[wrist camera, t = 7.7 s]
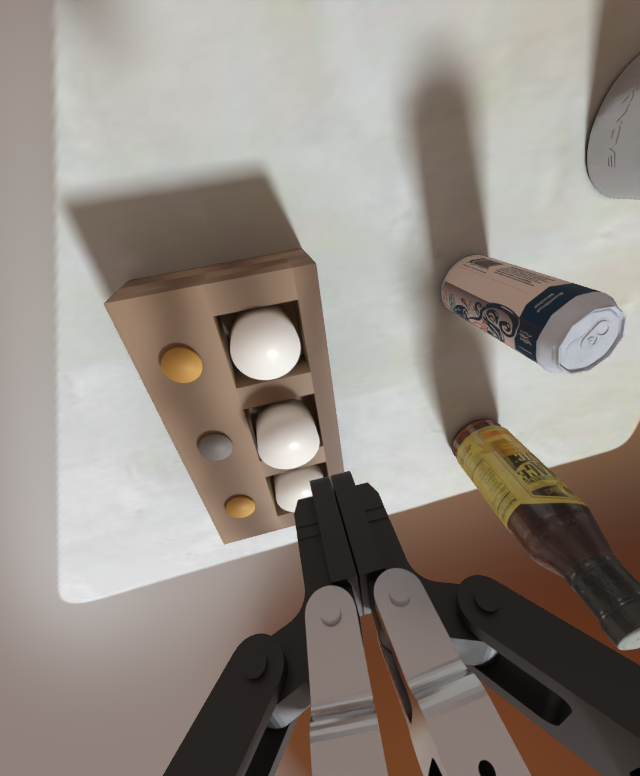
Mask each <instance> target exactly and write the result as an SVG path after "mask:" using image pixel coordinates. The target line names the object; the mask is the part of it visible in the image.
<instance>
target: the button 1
mask: <svg viewBox="0 0 640 776" xmlns="http://www.w3.org/2000/svg"><path fill="white" fill-rule="evenodd" d="M300 348H301V347H300V340H299V337H298V335H297V332H296V330H295V327H294V324H293V322H292V319H291V318H290V316H289V314H288V313H287V312H286V311H285V310H284V309H283V308H282V307H280V306H278V305H276V304H273V305H268V306H263V307H258V308H253V309H248V310H243V311H239V312H238V313H237V314H236V315H235V317H234V319H233V322H232V325H231V341H230V353H231V357H232V360H233V362H234V364H235V365H236V367H237V368H238V369H239V370H240V371H241V372H242V373H243V374H245V375H247V376H249V377H251V378H254V379H258V380H272V379H276V378H279V377H281V376H283V375H285V374H287V373H288V372H289V371H290V370H291V369H292V368H293V367H294V366H295V364H296V363H297V361H298V359H299V356H300Z"/></svg>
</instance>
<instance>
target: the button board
mask: <svg viewBox="0 0 640 776" xmlns="http://www.w3.org/2000/svg"><path fill="white" fill-rule="evenodd" d="M273 304H276V305H278V306H280V307H282V308H283V309H284V310H285V311H286V312H287V313H288V314H289V316H290V318H291V319H292V322H293V324H294V327H295V330H296V332H297V335H298V337H299V340H300V347H301V348H300V356H299V359H298V361H297V363H296V364H295V366H294V367H293V368H292V369H291V370H290V371H289V372H288V373H287V374H285V375H283V376H281V377H279V378H276V379H272V380H258V379H254V378H251V377H249V376H247V375H245V374H243V373H242V372H241V371H240V370H239V369H238V368H237V367H236V365H235V364H234V362H233V360H232V357H231V353H230V341H231V325H232V322H233V319H234V317H235V315H236V314H237V313H238V312H239V311H243V310H248V309H253V308H258V307H263V306H268V305H273ZM104 305H105V307H106V309H107V311H108V313H109V315H110V317H111V319H112V321H113V323H114V325H115V327H116V329H117V331H118V333H119V335H120V337H121V339H122V341H123V343H124V345H125V347H126V349H127V351H128V353H129V355H130V357H131V359H132V361H133V363H134V365H135V367H136V369H137V371H138V373H139V375H140V377H141V379H142V381H143V383H144V385H145V387H146V389H147V391H148V393H149V395H150V397H151V399H152V401H153V403H154V405H155V407H156V409H157V411H158V413H159V415H160V417H161V419H162V421H163V423H164V425H165V427H166V429H167V431H168V433H169V435H170V437H171V439H172V441H173V443H174V445H175V447H176V449H177V451H178V453H179V455H180V457H181V459H182V461H183V463H184V465H185V467H186V469H187V471H188V473H189V475H190V477H191V479H192V481H193V483H194V485H195V487H196V489H197V491H198V493H199V495H200V497H201V499H202V501H203V503H204V505H205V507H206V509H207V511H208V513H209V515H210V517H211V519H212V521H213V523H214V525H215V527H216V529H217V531H218V533H219V535H220V537H221V539H222V541H223V543H224V544H228V543H231V542H235V541H239V540H242V539H246V538H250V537H254V536H257V535H261V534H265V533H268V532H272V531H276V530H280V529H283V528H287V527H291V526H294V525H296V524H295V517H294V512H289V511H286V510H284V509H282V508H281V507H280V506H279V505H278V503H277V500H276V493H275V484H274V476H273V475H275V474H279V473H283V472H287V471H291V470H295V469H299V468H303V467H307V466H311V465H315V464H320V467H321V470H322V474H323V477H327V476H329V478H330V476H331V475H335V474H339V473H344V467H343V460H342V452H341V445H340V437H339V430H338V423H337V415H336V408H335V400H334V393H333V386H332V378H331V371H330V363H329V356H328V348H327V341H326V334H325V326H324V319H323V311H322V304H321V297H320V289H319V282H318V274H317V267H316V263H315V262H314V261H313V260H312V259H311V257H310V256H309V255H308V254H307V253H306V252H305V251H304V250H303V249H298V250H293V251H287V252H282V253H277V254H271V255H266V256H260V257H255V258H249V259H244V260H239V261H233V262H228V263H222V264H217V265H211V266H206V267H201V268H195V269H190V270H184V271H179V272H173V273H168V274H163V275H157V276H152V277H146V278H141V279H136V280H130V281H128V282H126V283H125V284H124V285H123V286H122V287H121V288H120V289H119V290H118V291H117V292H116V293H115V294H114V295H112V296H111V297H110V298H109V299H108V300H107V301H106V302H105V303H104ZM292 398H295V399H298V400H300V401H302V402H303V403H305V404H306V405H307V406H308V408H309V409H310V411H311V414H312V417H313V420H314V423H315V426H316V430H317V433H318V436H319V441H320V444H319V449H318V451H317V453H316V454H315V456H314V457H313V458H312V459H311V460H310V461H309V462H307V463H306V464H304V465H302V466H299V467H296V468H292V469H277V468H273V467H271V466H269V465H267V464H266V463H265V462H263V460H262V459H261V458H260V456H259V453H258V445H257V432H256V418H257V415H258V413H259V411H260V410H261V408H262V407H263V406H264V405H266V404H270V403H274V402H279V401H283V400H287V399H292ZM330 482H331V479H330Z"/></svg>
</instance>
